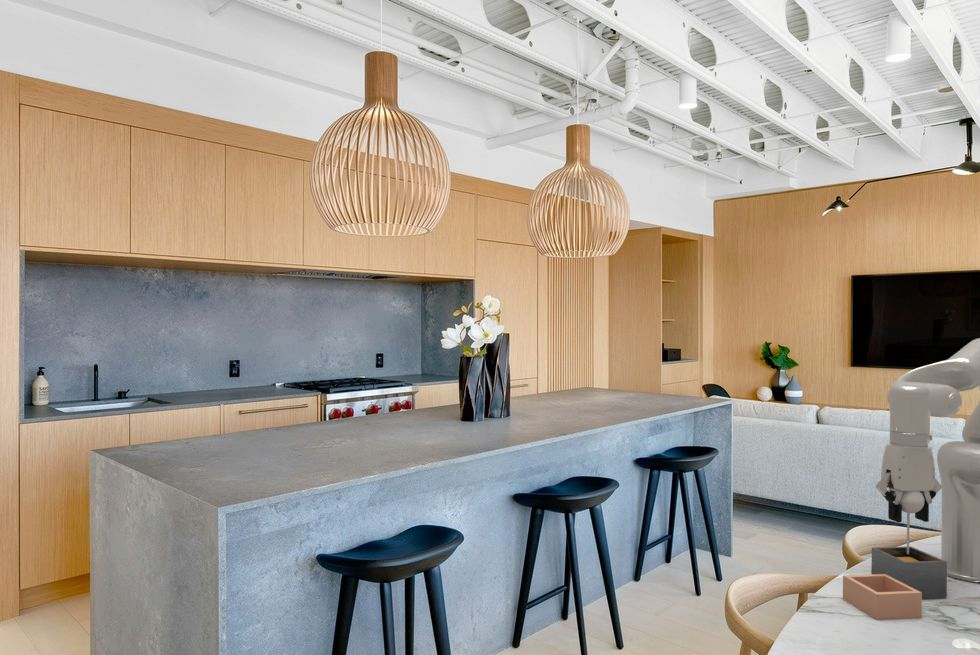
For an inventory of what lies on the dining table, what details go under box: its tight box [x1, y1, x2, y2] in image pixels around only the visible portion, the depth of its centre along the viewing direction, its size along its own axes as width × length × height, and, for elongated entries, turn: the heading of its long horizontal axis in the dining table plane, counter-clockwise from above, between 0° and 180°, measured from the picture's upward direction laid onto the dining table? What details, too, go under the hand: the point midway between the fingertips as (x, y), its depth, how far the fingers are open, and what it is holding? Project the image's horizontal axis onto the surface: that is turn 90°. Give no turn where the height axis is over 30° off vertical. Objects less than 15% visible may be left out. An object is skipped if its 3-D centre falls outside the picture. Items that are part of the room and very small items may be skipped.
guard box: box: [870, 545, 948, 601], centre depth 143 cm, size 10×10×8 cm
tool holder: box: [842, 574, 923, 620], centre depth 133 cm, size 10×10×5 cm
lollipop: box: [894, 491, 925, 554], centre depth 143 cm, size 6×6×15 cm
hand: (908, 519), depth 143 cm, fingers closed on lollipop, 5 cm apart
